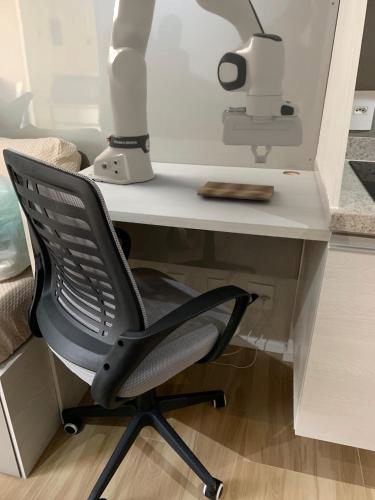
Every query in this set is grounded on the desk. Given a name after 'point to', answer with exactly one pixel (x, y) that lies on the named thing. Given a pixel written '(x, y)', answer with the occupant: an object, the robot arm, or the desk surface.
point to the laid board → (240, 186)
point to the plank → (235, 193)
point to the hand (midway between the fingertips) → (260, 162)
